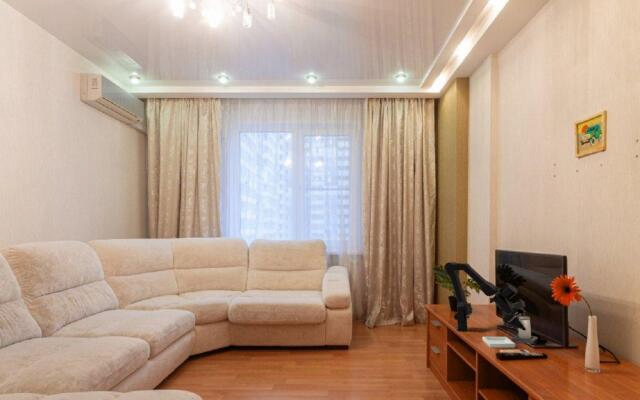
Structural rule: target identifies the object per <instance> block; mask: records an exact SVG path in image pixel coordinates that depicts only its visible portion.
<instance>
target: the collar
mask: <svg viewBox="0 0 640 400" xmlns="http://www.w3.org/2000/svg"><path fill="white" fill-rule="evenodd" d="M531 338H532V339H531V340H526V339H520V338H519V333H518V334H515V335H514V336H513V337H512V339H511V341H512V342H513V343H518V344H523V345H526V344H525V343H531V344H532V343H533V342H534V341H535V340H537V339H538V340H539V337H537V336H535V335H534V336H532V335H531Z"/></svg>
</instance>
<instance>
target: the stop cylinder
mask: <svg viewBox="0 0 640 400" xmlns="http://www.w3.org/2000/svg"><path fill="white" fill-rule="evenodd" d="M519 321H520V322H521V323H522V324H523V326H524V327H525V328H526V330H525V331H524V330H522V329H520V328H518V334H519V338H520V339H526V340H531V336H532V334H531V333H532V332H531V317H530V316H527V315H525V316H519Z"/></svg>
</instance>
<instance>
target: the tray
mask: <svg viewBox="0 0 640 400" xmlns="http://www.w3.org/2000/svg"><path fill="white" fill-rule="evenodd" d="M482 342H483V343H484V344H486V346H488V347H489V348H490V349H516V342H512V339H510V338H508V337H507V336H482Z"/></svg>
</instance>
